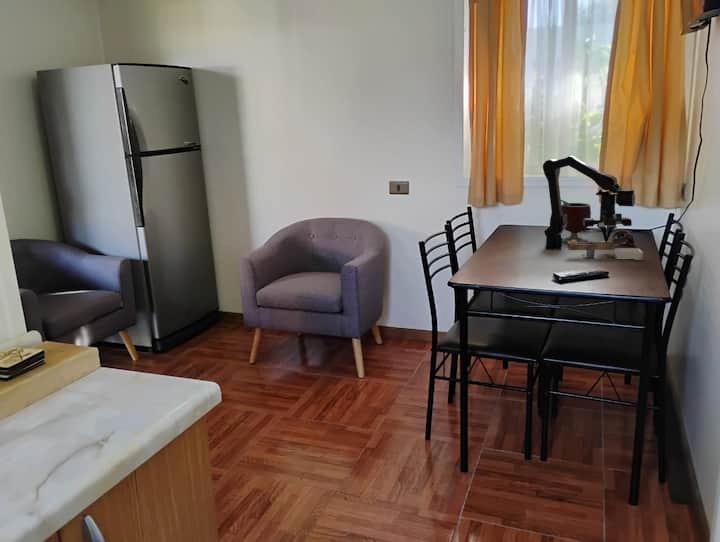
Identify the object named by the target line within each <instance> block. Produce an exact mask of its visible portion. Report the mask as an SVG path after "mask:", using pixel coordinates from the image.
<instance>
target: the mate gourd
mask: <svg viewBox="0 0 720 542" xmlns="http://www.w3.org/2000/svg"><path fill="white" fill-rule="evenodd" d="M561 207H562V212H563V214H564V215H565V214H567V221H568V223H567V227H566V228H565V229H564V230H565V231H567V232H569V233H570V235H569V236H561V238H562V242H564V241H566V242H565V243H568V241H569V242H571V241H572V240H576V241H577V242H585V241H587V242H588V241H589V240H588V239H589V238H586V237H583V236H579V233H580V232H583V231H585V230H586V229H587V228H588V227H585V226H584V225H583V219H584V218H592V217H591V215H592V211H591V204H589V203H586V202H585V203H583V202H567V201H565V200H563V199H561Z"/></svg>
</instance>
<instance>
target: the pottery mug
mask: <svg viewBox="0 0 720 542" xmlns="http://www.w3.org/2000/svg"><path fill="white" fill-rule="evenodd" d="M611 242H613V244H615V245H620V244H623V243H625V245H632V246H634V247H635V246H636V241H635V240H634V236H633V234H632V233H630V232H629V231H628V230H627V229H620V230H619V229H618V230H617V231H615V232H614V233H612V235H611Z"/></svg>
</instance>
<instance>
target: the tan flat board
mask: <svg viewBox="0 0 720 542" xmlns="http://www.w3.org/2000/svg"><path fill="white" fill-rule="evenodd" d="M577 243H578V244H577V245H571V243H570V242H569V241H568V242H567V249H568V251H587V250H590V247H595V251H598V250H599V251H601V250H602V251H606V250H607V251H613V250H615V248H616V244H613V242H612V241H609V240H608V241H607V242H605V240H603V241H590V242H589V241H587V242H577Z"/></svg>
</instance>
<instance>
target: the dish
mask: <svg viewBox="0 0 720 542" xmlns="http://www.w3.org/2000/svg"><path fill="white" fill-rule="evenodd" d="M612 256H614V257H615V258H616V259H635V260H634V261H643V260H644V252H643V251H642V249H640V248H629V247H628V248H625V247H624V248H618V247H617V248H616V247H615V250H612ZM614 257H613V258H614ZM615 258H614V259H615ZM616 259H615V260H616Z"/></svg>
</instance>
